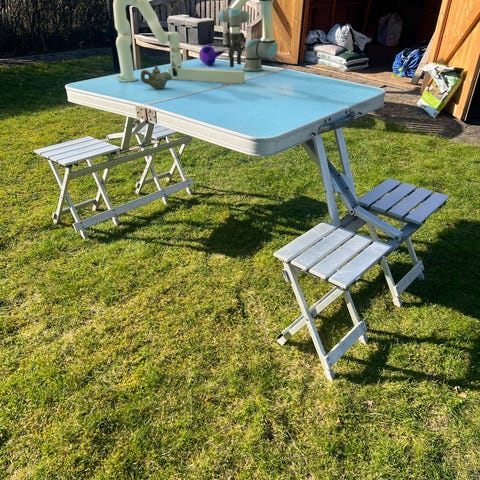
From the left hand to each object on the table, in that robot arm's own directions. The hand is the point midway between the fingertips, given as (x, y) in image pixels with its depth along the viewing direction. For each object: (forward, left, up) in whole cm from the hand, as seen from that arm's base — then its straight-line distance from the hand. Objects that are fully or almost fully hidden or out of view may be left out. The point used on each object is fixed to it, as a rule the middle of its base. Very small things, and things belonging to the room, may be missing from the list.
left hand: (177, 75), depth 344 cm
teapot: (-25, -27, -3) cm, 37 cm away
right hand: (+32, -36, +9) cm, 50 cm away
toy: (+46, +43, -3) cm, 63 cm away
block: (+16, -18, -3) cm, 25 cm away
